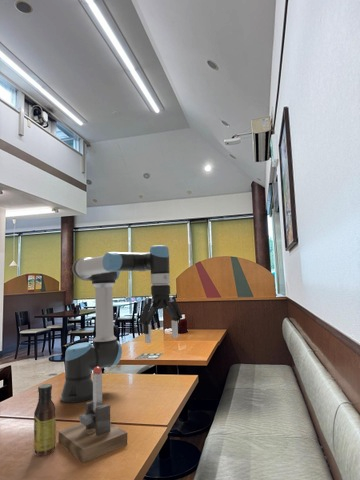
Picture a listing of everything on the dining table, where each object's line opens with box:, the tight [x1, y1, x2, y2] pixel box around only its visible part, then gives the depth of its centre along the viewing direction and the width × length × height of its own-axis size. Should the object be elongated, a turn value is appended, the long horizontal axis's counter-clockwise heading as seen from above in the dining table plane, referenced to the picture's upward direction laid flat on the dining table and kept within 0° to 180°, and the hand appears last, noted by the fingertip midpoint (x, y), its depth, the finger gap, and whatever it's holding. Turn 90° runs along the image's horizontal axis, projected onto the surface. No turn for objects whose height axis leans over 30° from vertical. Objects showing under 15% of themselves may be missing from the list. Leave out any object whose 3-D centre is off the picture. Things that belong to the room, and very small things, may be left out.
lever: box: [78, 367, 103, 425], centre depth 108 cm, size 4×7×16 cm, turn 132°
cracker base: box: [57, 400, 129, 464], centre depth 107 cm, size 18×15×12 cm
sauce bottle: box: [33, 383, 57, 457], centre depth 103 cm, size 7×6×20 cm
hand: (162, 340), depth 127 cm, fingers open, 13 cm apart
